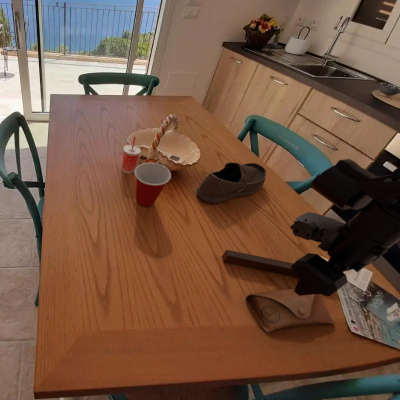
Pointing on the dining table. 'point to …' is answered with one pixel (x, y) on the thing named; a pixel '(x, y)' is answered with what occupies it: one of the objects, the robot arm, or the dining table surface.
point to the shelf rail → (259, 263)
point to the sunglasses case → (287, 309)
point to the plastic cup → (150, 182)
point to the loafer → (232, 182)
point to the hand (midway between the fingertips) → (310, 283)
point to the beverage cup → (130, 158)
